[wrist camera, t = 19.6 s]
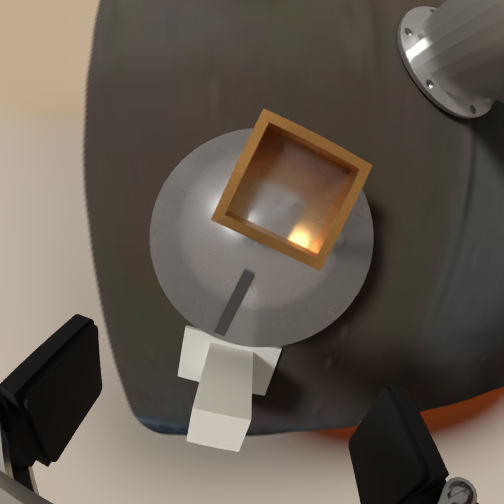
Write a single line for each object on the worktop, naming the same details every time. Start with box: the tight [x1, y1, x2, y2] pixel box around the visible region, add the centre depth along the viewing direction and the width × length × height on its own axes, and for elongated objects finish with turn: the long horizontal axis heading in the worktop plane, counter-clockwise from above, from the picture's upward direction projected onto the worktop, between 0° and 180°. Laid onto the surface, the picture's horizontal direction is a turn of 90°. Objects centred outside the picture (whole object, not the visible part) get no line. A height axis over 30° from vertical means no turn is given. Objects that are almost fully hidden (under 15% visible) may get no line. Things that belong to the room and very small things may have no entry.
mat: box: [178, 325, 282, 396], centre depth 27 cm, size 9×6×1 cm, turn 76°
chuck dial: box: [150, 109, 374, 347], centre depth 20 cm, size 15×15×5 cm
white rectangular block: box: [187, 342, 253, 452], centre depth 22 cm, size 4×4×9 cm
